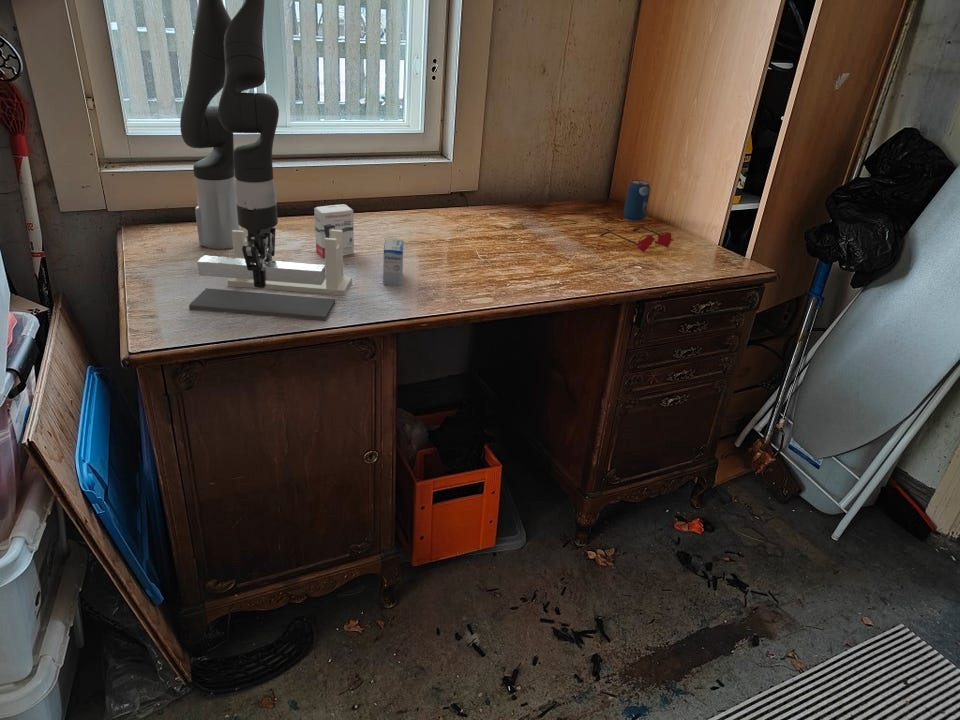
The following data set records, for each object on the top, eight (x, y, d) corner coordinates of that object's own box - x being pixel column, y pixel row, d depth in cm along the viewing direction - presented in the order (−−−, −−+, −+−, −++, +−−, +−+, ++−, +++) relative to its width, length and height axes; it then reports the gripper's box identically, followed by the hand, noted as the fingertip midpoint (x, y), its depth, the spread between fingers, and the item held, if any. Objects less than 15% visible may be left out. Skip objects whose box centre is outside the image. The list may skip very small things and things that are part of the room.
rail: (199, 275, 140) (197, 261, 139) (206, 269, 143) (204, 255, 142) (321, 285, 140) (320, 271, 139) (325, 278, 143) (325, 265, 142)
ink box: (323, 258, 172) (321, 212, 166) (315, 252, 175) (313, 206, 169) (354, 254, 176) (354, 209, 170) (346, 248, 179) (345, 203, 174)
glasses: (638, 254, 193) (641, 237, 191) (599, 236, 205) (601, 220, 203) (672, 248, 200) (676, 232, 198) (632, 231, 212) (635, 215, 210)
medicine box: (384, 272, 166) (384, 238, 162) (402, 273, 167) (403, 239, 163) (382, 285, 160) (383, 249, 155) (402, 286, 160) (403, 250, 156)
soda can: (646, 222, 220) (653, 185, 214) (624, 221, 220) (631, 183, 214) (642, 216, 226) (649, 180, 220) (621, 214, 226) (627, 178, 220)
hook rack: (228, 285, 153) (222, 231, 147) (240, 272, 160) (235, 220, 154) (344, 295, 153) (343, 241, 147) (351, 282, 160) (351, 230, 154)
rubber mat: (189, 309, 141) (188, 305, 140) (206, 292, 149) (206, 288, 148) (325, 321, 141) (325, 316, 140) (335, 303, 149) (335, 299, 148)
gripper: (249, 190, 140) (256, 269, 148) (223, 209, 128) (233, 295, 136) (285, 193, 140) (290, 272, 148) (264, 213, 128) (270, 298, 136)
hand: (263, 282), depth 142 cm, fingers closed on rail, 3 cm apart
